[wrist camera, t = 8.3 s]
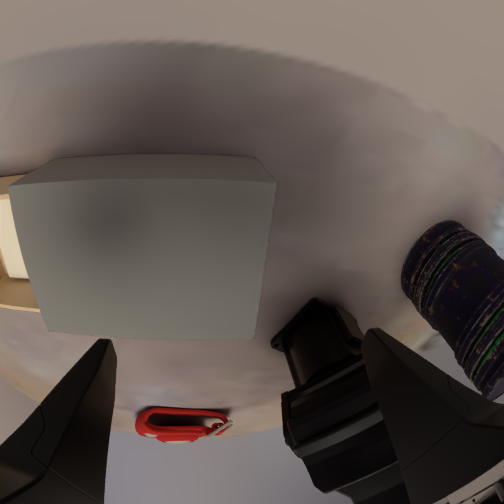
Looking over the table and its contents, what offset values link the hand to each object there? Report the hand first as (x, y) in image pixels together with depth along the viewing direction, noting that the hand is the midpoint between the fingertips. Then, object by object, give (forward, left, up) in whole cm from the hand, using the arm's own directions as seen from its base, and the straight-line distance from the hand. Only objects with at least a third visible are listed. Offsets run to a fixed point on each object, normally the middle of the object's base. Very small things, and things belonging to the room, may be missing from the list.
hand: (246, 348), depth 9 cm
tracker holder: (-27, -11, -13) cm, 32 cm away
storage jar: (+7, -21, -13) cm, 26 cm away
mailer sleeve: (-4, +4, -12) cm, 13 cm away
